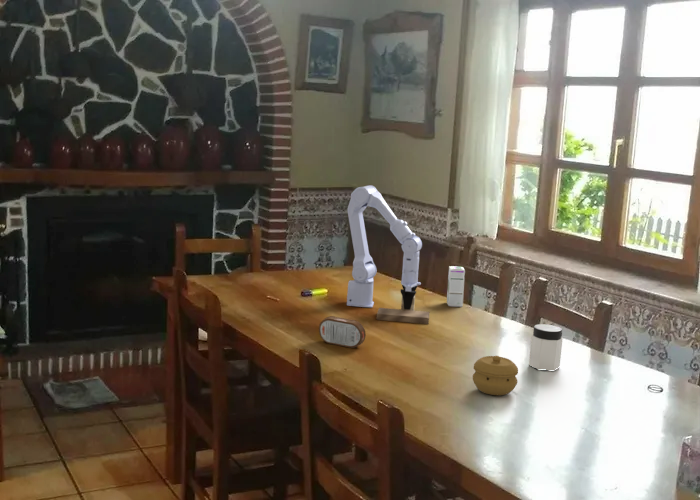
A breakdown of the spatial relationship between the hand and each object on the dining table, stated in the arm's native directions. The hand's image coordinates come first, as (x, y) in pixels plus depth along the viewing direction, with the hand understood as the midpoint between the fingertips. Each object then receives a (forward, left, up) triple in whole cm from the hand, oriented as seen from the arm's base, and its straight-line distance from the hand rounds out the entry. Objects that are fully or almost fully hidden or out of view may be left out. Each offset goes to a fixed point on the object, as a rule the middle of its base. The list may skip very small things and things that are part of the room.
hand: (407, 306), depth 293 cm
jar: (+43, -52, -2) cm, 68 cm away
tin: (-18, -48, -2) cm, 51 cm away
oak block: (0, 0, -2) cm, 2 cm away
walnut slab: (-1, -10, -2) cm, 10 cm away
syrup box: (+17, +17, -2) cm, 24 cm away
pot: (+27, -78, -2) cm, 83 cm away
